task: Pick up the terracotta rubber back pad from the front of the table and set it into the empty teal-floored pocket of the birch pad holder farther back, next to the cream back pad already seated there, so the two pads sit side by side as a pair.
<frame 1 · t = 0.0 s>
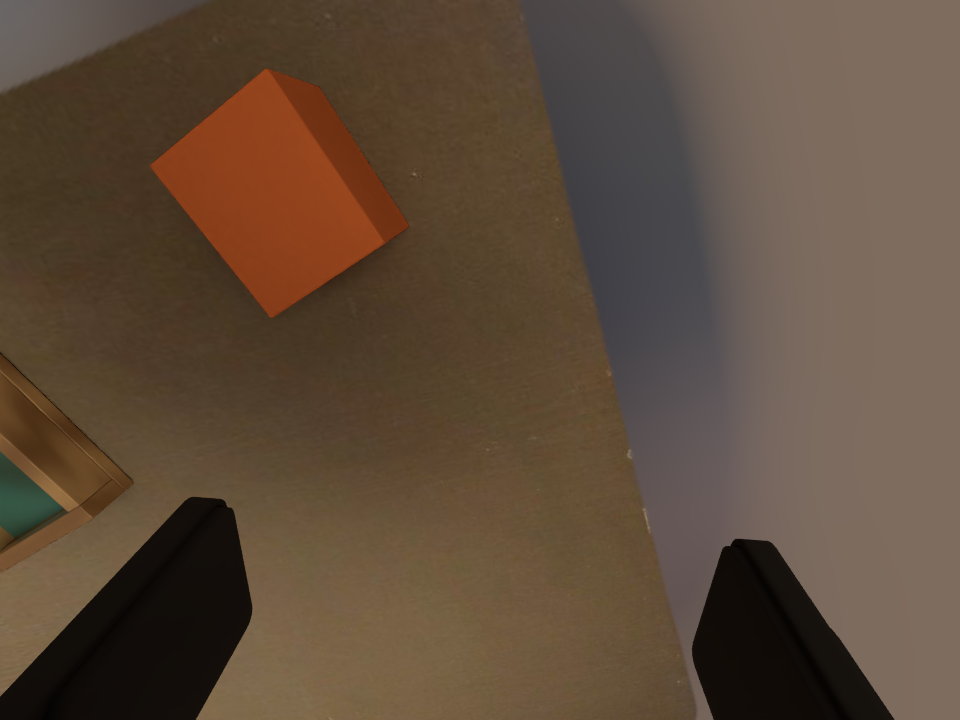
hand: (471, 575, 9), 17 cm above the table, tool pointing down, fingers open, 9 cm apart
terracotta pad: (316, 195, 23), on the table
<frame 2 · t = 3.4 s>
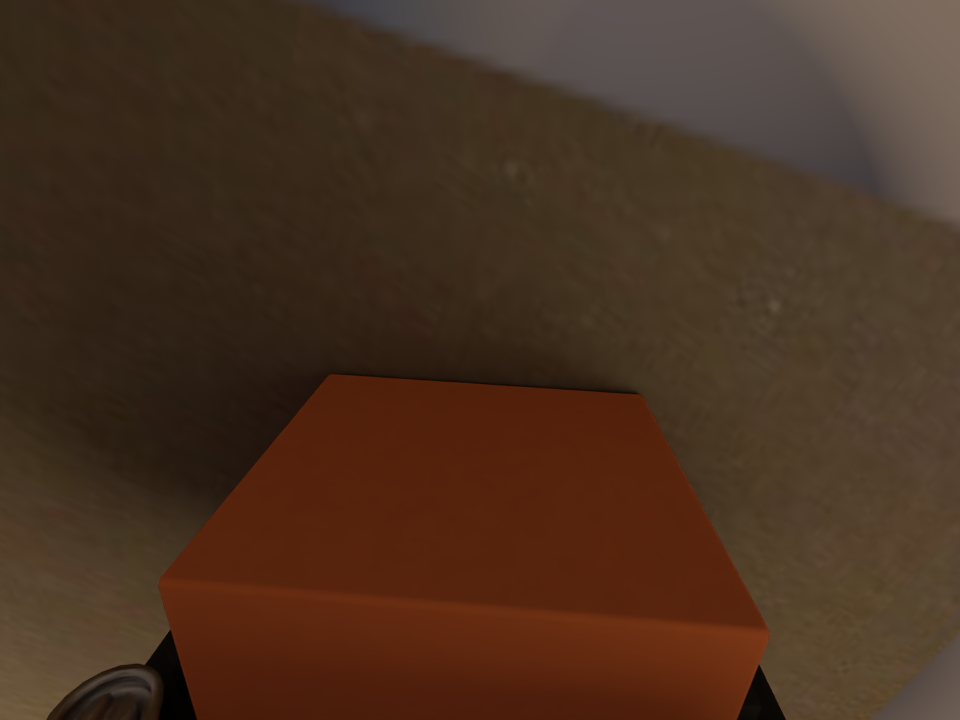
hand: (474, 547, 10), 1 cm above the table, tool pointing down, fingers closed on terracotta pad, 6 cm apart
terracotta pad: (476, 526, 11), on the table, touching gripper
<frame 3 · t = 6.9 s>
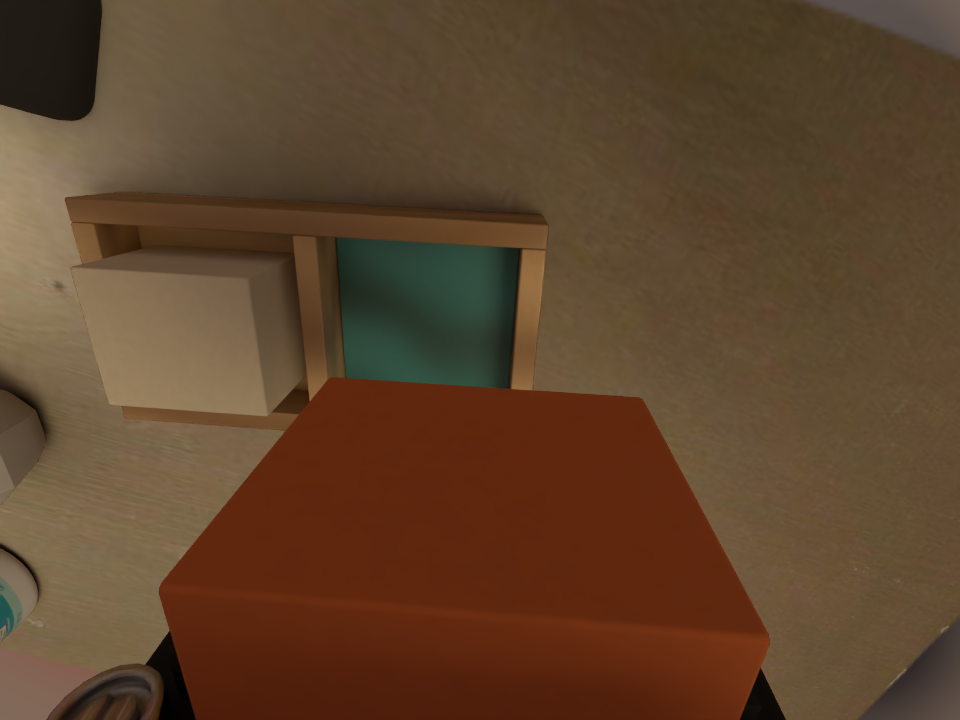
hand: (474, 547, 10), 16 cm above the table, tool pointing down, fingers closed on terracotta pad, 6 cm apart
cream pad: (237, 309, 24), point 1 cm above the table, touching pad holder
pad holder: (337, 310, 25), on the table
terracotta pad: (476, 529, 11), point 15 cm above the table, touching gripper
apple: (15, 417, 29), on the table
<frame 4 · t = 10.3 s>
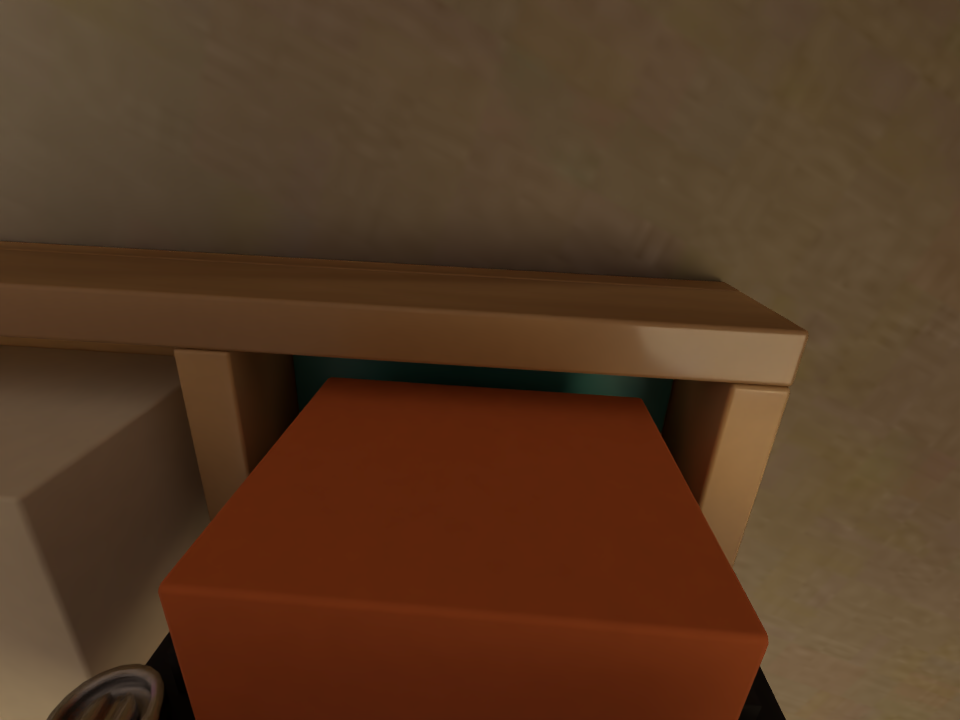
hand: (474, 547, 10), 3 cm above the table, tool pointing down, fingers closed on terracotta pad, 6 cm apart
cream pad: (105, 457, 12), point 1 cm above the table, touching pad holder
pad holder: (300, 452, 13), on the table
terracotta pad: (475, 529, 11), point 2 cm above the table, touching gripper
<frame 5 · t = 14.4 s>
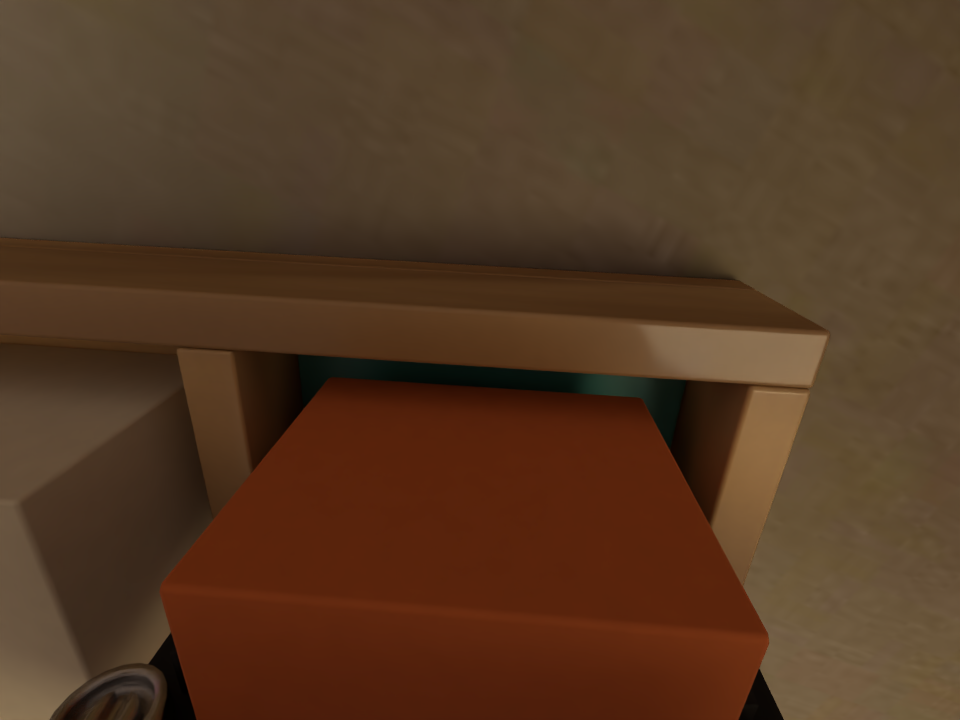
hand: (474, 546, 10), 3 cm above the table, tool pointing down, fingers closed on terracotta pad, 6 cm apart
cream pad: (108, 456, 12), point 1 cm above the table, touching pad holder
pad holder: (304, 452, 13), on the table
terracotta pad: (476, 529, 11), point 2 cm above the table, touching gripper
when the fingers open (4 cm above the table, at t = 18.2 s): terracotta pad drops 2 cm, resting on pad holder.
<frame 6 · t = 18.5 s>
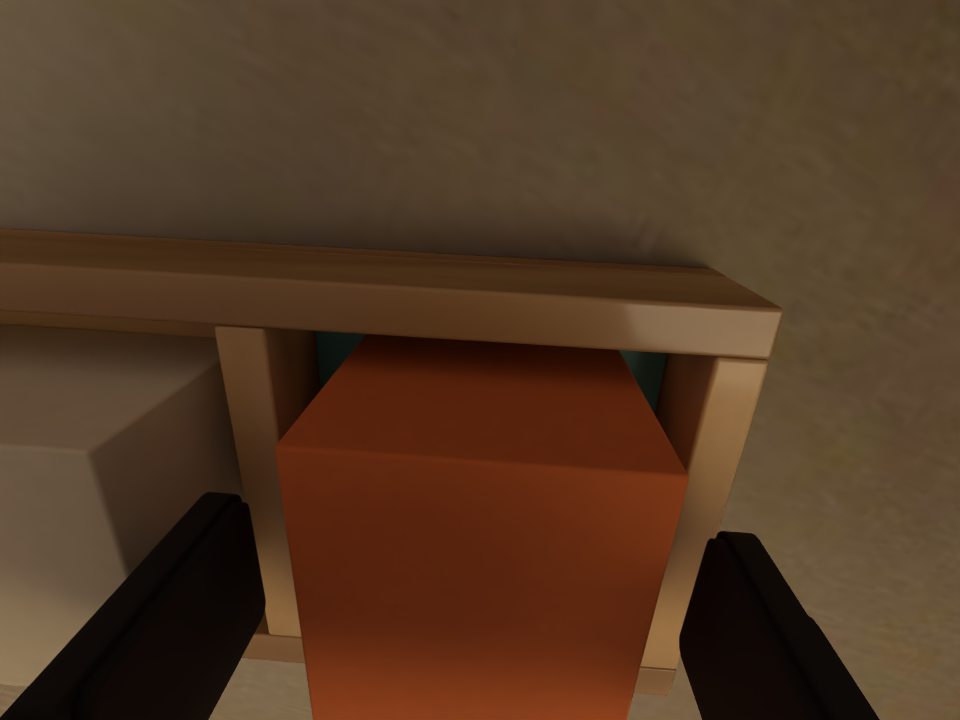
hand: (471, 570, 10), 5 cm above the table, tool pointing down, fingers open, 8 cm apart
cream pad: (139, 432, 13), point 1 cm above the table, touching pad holder
pad holder: (319, 429, 14), on the table
terracotta pad: (484, 462, 13), point 1 cm above the table, touching pad holder
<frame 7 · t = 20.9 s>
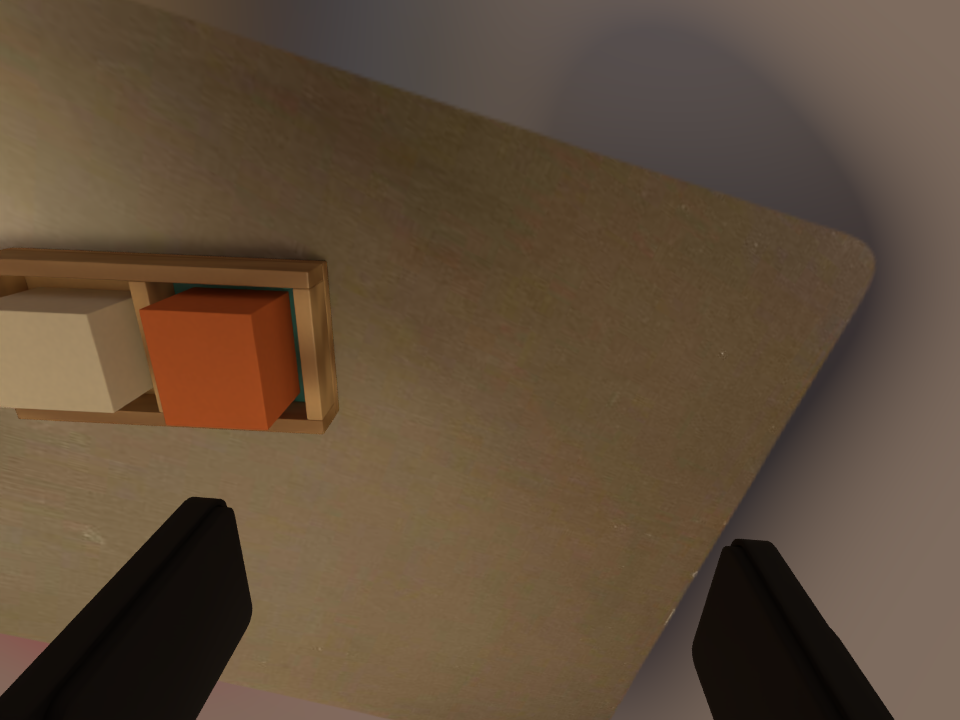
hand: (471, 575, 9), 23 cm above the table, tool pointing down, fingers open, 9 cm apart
cream pad: (106, 333, 32), point 1 cm above the table, touching pad holder
pad holder: (184, 333, 32), on the table
terracotta pad: (249, 341, 31), point 1 cm above the table, touching pad holder
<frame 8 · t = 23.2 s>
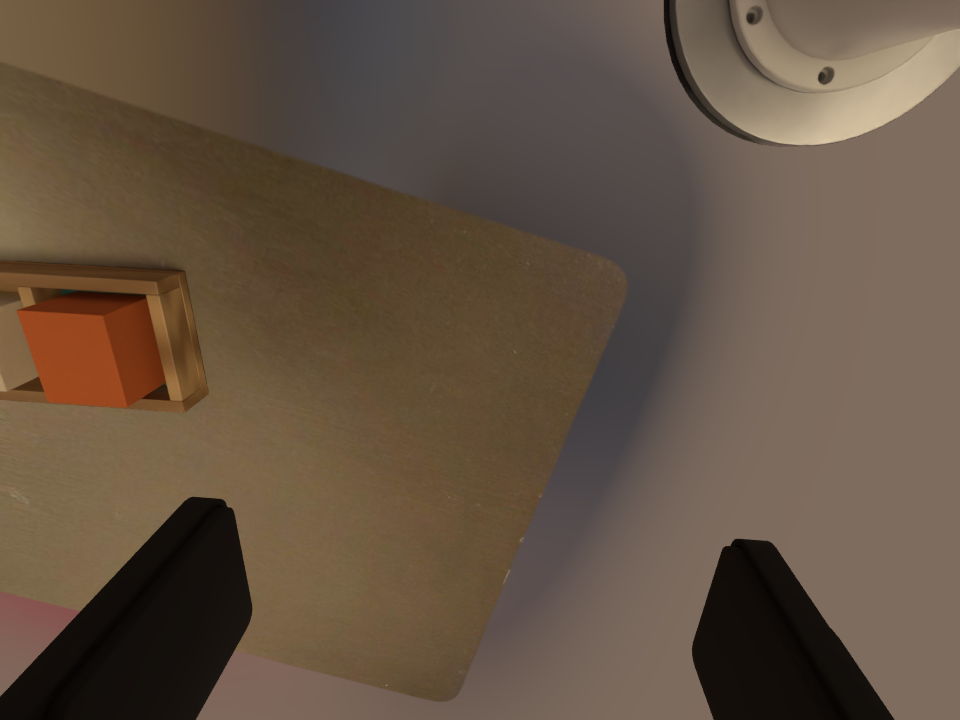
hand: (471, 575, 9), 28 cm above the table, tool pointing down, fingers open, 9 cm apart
cream pad: (11, 327, 39), point 1 cm above the table, touching pad holder
pad holder: (77, 328, 39), on the table
terracotta pad: (126, 336, 38), point 1 cm above the table, touching pad holder
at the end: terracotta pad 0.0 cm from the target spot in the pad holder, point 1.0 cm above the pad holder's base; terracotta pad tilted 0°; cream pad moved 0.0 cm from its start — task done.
